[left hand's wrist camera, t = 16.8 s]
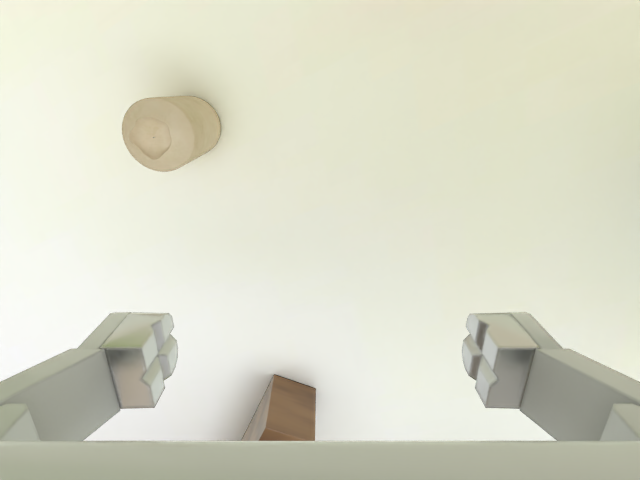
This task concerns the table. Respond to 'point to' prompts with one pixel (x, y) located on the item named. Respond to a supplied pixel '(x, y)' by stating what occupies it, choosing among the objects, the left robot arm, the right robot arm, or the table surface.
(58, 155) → the table surface
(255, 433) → the bar
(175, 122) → the candle
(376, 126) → the table surface
